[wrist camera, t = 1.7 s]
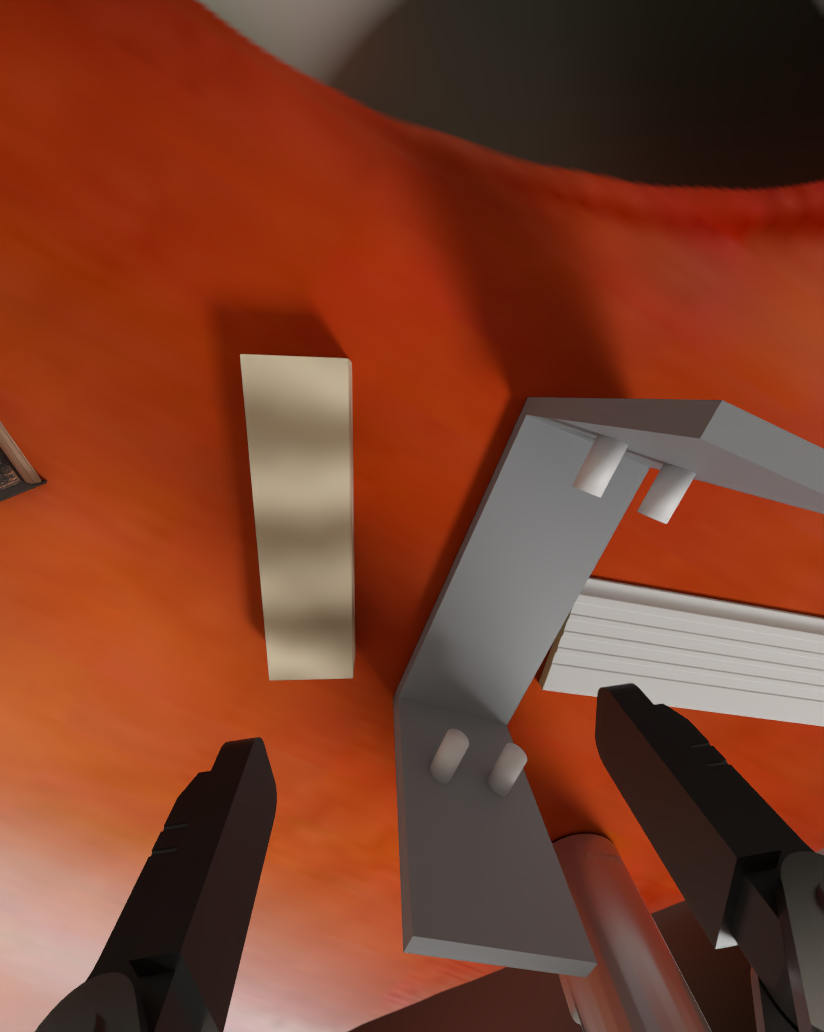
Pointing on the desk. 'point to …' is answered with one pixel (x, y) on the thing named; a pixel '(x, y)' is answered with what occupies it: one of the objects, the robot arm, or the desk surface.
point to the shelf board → (303, 510)
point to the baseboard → (691, 652)
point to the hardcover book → (14, 468)
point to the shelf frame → (539, 655)
